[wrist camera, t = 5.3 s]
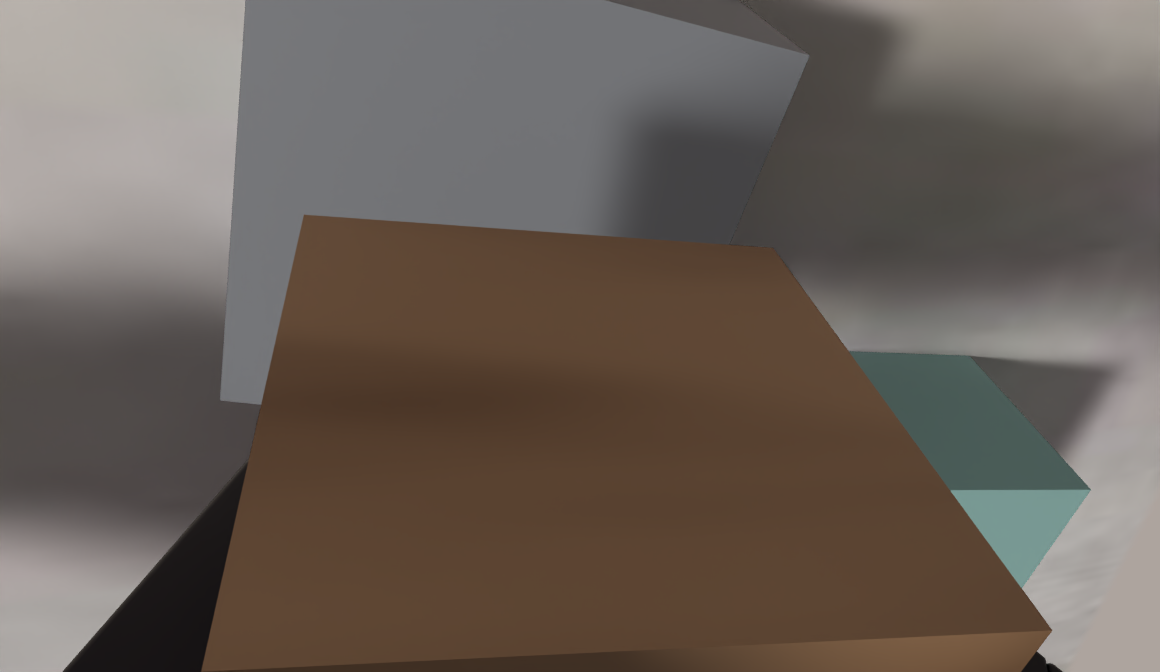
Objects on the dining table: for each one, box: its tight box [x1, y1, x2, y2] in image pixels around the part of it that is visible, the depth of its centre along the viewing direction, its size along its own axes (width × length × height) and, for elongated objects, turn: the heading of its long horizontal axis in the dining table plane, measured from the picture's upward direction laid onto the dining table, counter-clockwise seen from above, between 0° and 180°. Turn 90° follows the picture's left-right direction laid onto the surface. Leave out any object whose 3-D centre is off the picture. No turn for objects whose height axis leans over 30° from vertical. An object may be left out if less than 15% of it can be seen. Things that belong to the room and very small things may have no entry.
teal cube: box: [849, 351, 1091, 588], centre depth 21 cm, size 5×5×5 cm
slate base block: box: [220, 0, 810, 405], centre depth 15 cm, size 8×8×4 cm
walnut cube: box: [201, 215, 1052, 672], centre depth 8 cm, size 5×5×5 cm
